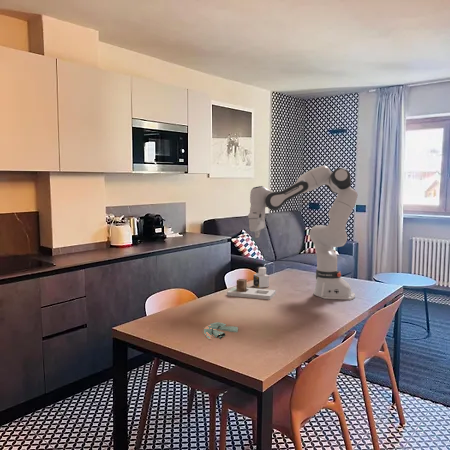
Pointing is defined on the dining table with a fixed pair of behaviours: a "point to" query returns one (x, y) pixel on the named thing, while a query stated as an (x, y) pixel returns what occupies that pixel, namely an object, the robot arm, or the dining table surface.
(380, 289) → the dining table surface
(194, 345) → the dining table surface
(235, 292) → the parts plate
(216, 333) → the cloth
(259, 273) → the medicine bottle
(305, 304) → the dining table surface
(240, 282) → the walnut block
